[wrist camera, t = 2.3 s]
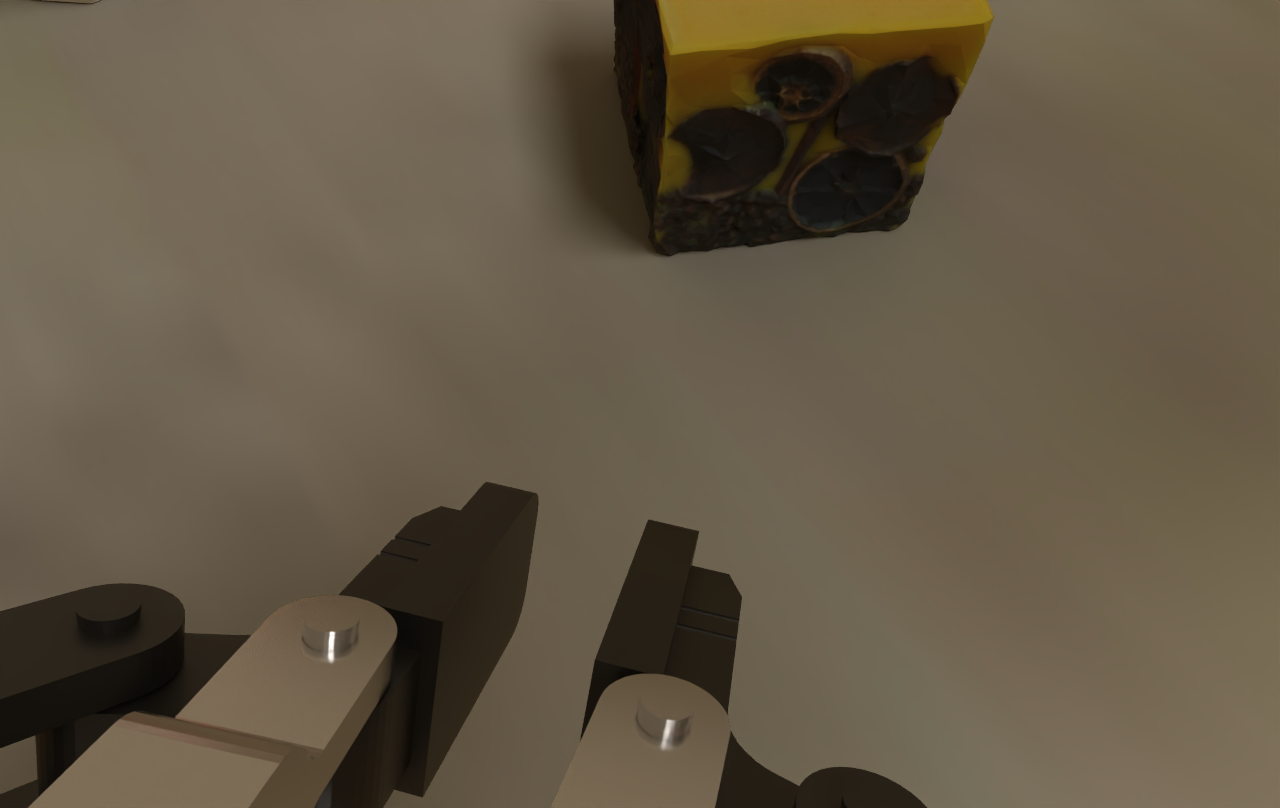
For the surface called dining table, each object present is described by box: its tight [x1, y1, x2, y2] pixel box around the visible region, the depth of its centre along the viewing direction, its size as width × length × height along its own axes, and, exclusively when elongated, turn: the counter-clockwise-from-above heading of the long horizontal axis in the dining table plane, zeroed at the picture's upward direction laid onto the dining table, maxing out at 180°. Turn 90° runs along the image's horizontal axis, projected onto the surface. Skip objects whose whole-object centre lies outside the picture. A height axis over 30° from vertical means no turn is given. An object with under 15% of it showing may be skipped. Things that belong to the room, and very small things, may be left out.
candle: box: [613, 0, 994, 255], centre depth 33 cm, size 10×10×10 cm
